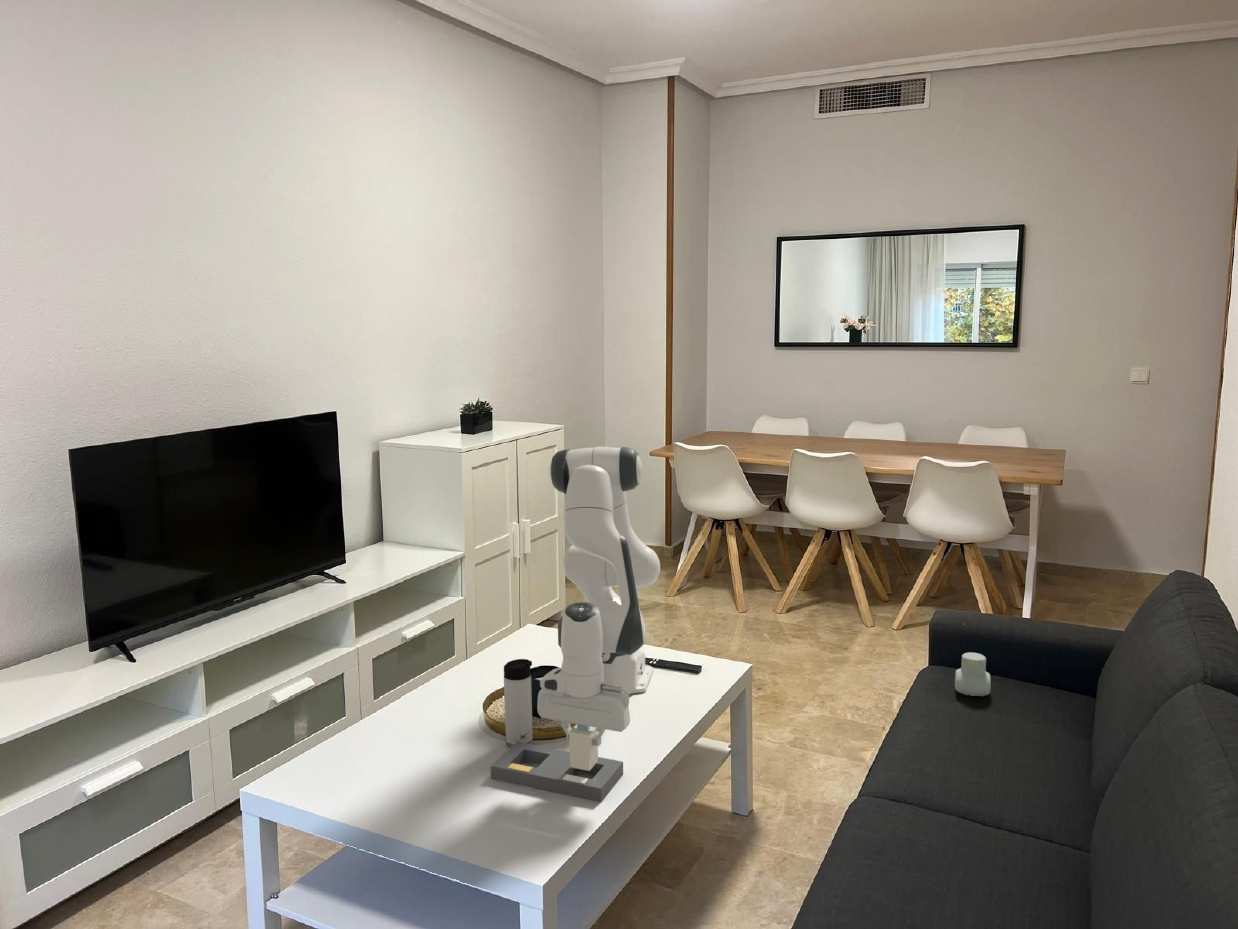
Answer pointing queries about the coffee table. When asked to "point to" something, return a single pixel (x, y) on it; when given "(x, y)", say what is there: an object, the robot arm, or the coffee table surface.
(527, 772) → the panel
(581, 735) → the plug
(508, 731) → the travel mug
